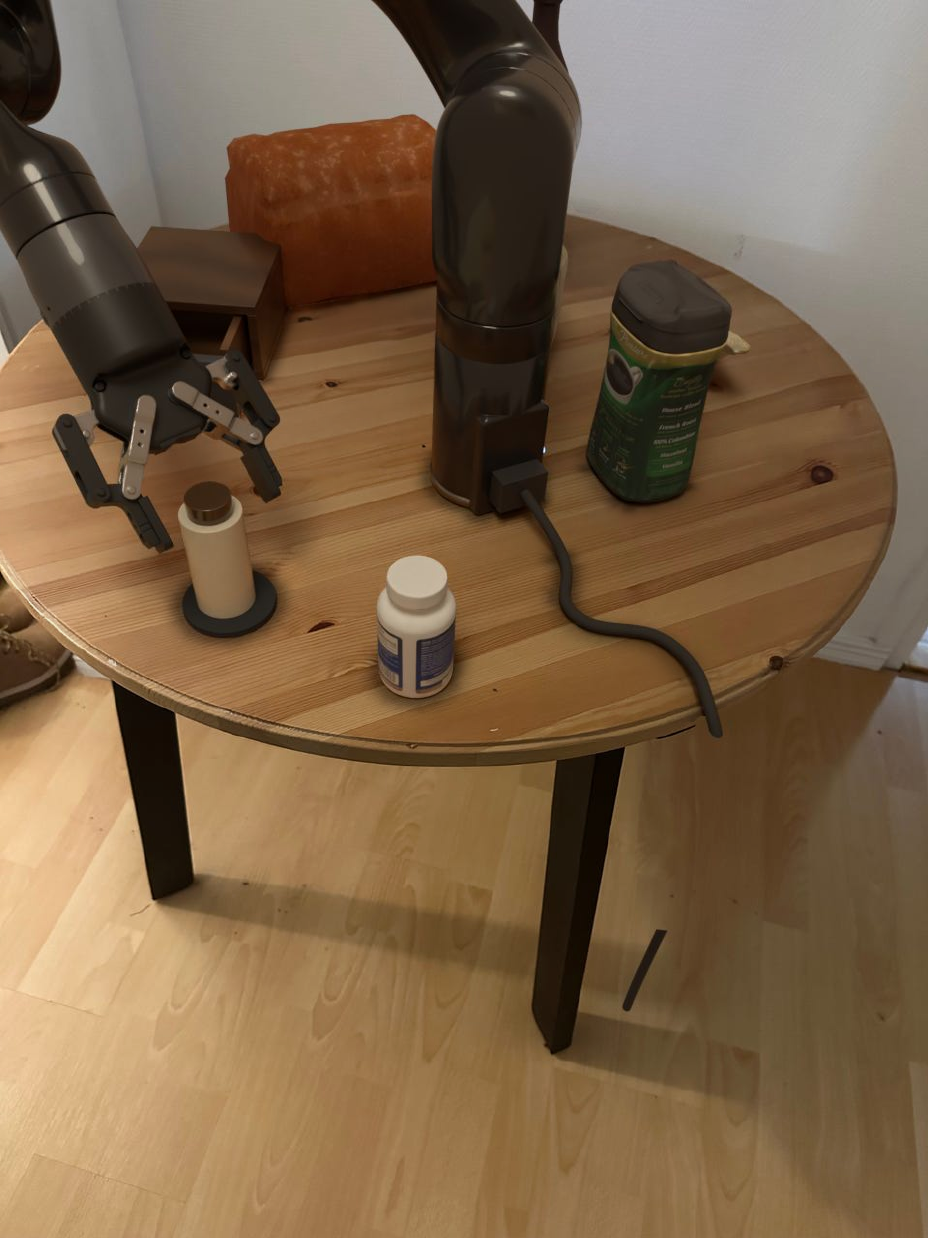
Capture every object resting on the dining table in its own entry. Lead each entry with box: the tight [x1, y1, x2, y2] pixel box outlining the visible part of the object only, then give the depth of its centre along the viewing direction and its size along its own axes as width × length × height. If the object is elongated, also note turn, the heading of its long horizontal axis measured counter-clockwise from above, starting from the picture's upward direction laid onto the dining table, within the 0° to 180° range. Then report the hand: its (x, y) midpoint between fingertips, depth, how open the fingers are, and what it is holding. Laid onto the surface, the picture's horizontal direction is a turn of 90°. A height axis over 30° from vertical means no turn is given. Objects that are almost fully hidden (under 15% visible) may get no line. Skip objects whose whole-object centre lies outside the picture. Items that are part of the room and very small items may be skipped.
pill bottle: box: [376, 555, 457, 699], centre depth 65 cm, size 5×5×10 cm
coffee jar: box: [586, 259, 733, 503], centre depth 80 cm, size 10×8×19 cm
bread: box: [224, 113, 437, 309], centre depth 105 cm, size 17×24×15 cm
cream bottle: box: [177, 480, 256, 619], centre depth 69 cm, size 4×4×10 cm
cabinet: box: [137, 225, 290, 381], centre depth 96 cm, size 15×14×8 cm
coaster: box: [181, 569, 278, 639], centre depth 72 cm, size 7×7×1 cm
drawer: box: [170, 309, 252, 418], centre depth 89 cm, size 15×13×6 cm
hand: (222, 523), depth 66 cm, fingers open, 8 cm apart
